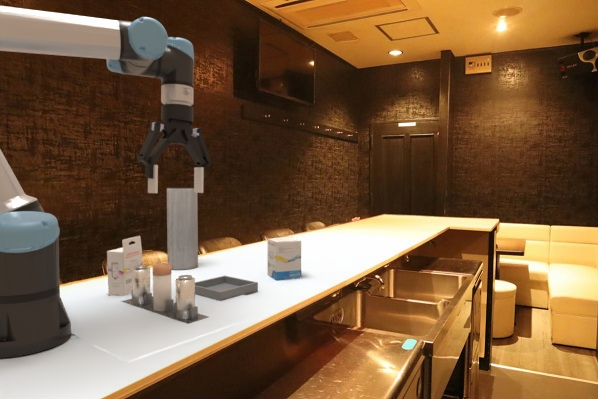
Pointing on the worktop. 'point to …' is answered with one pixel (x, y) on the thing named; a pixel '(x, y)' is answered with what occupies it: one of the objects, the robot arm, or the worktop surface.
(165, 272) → the cylinder
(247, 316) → the worktop surface
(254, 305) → the worktop surface
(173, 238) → the vase
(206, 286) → the tray
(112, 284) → the ink cartridge box
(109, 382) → the worktop surface
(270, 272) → the ink box
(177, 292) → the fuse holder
